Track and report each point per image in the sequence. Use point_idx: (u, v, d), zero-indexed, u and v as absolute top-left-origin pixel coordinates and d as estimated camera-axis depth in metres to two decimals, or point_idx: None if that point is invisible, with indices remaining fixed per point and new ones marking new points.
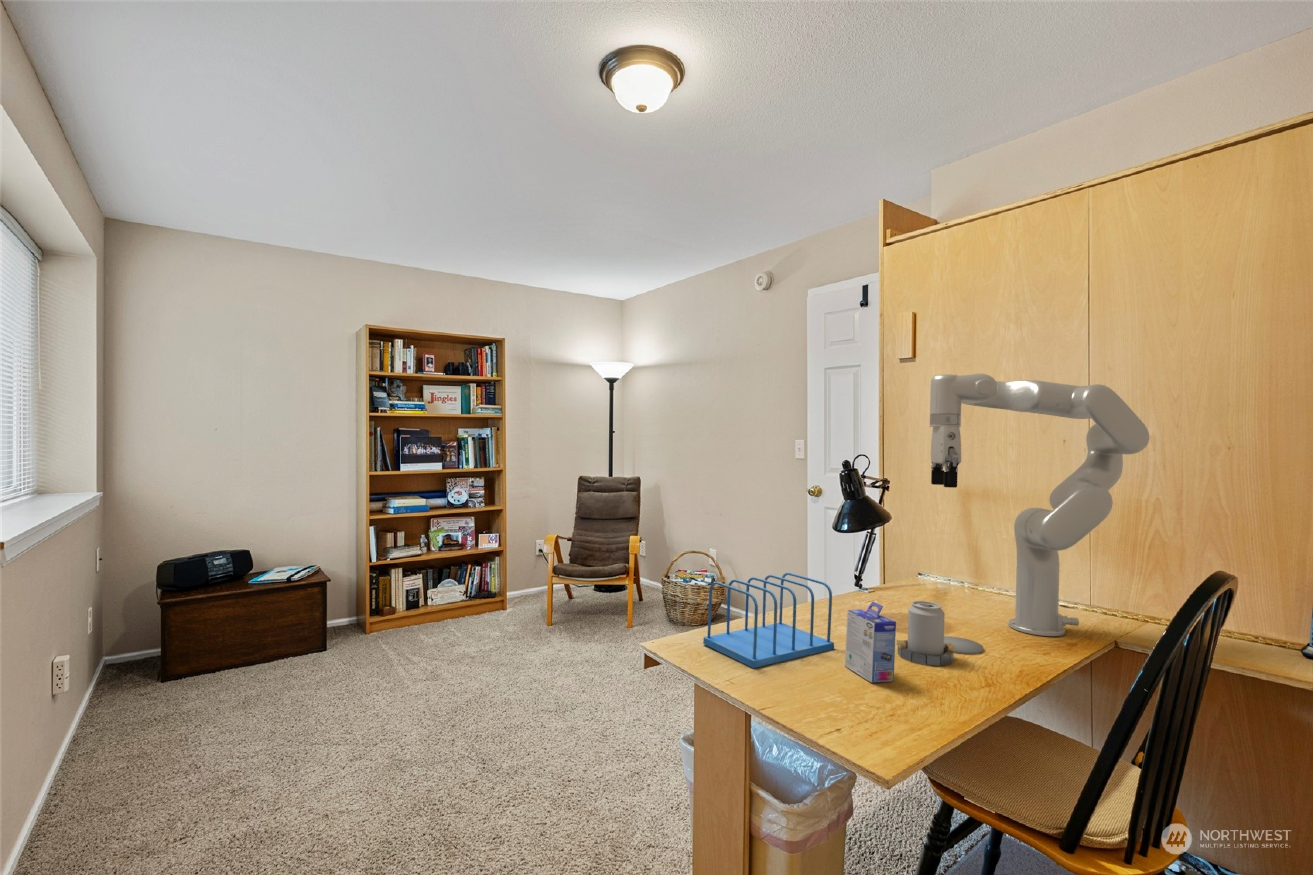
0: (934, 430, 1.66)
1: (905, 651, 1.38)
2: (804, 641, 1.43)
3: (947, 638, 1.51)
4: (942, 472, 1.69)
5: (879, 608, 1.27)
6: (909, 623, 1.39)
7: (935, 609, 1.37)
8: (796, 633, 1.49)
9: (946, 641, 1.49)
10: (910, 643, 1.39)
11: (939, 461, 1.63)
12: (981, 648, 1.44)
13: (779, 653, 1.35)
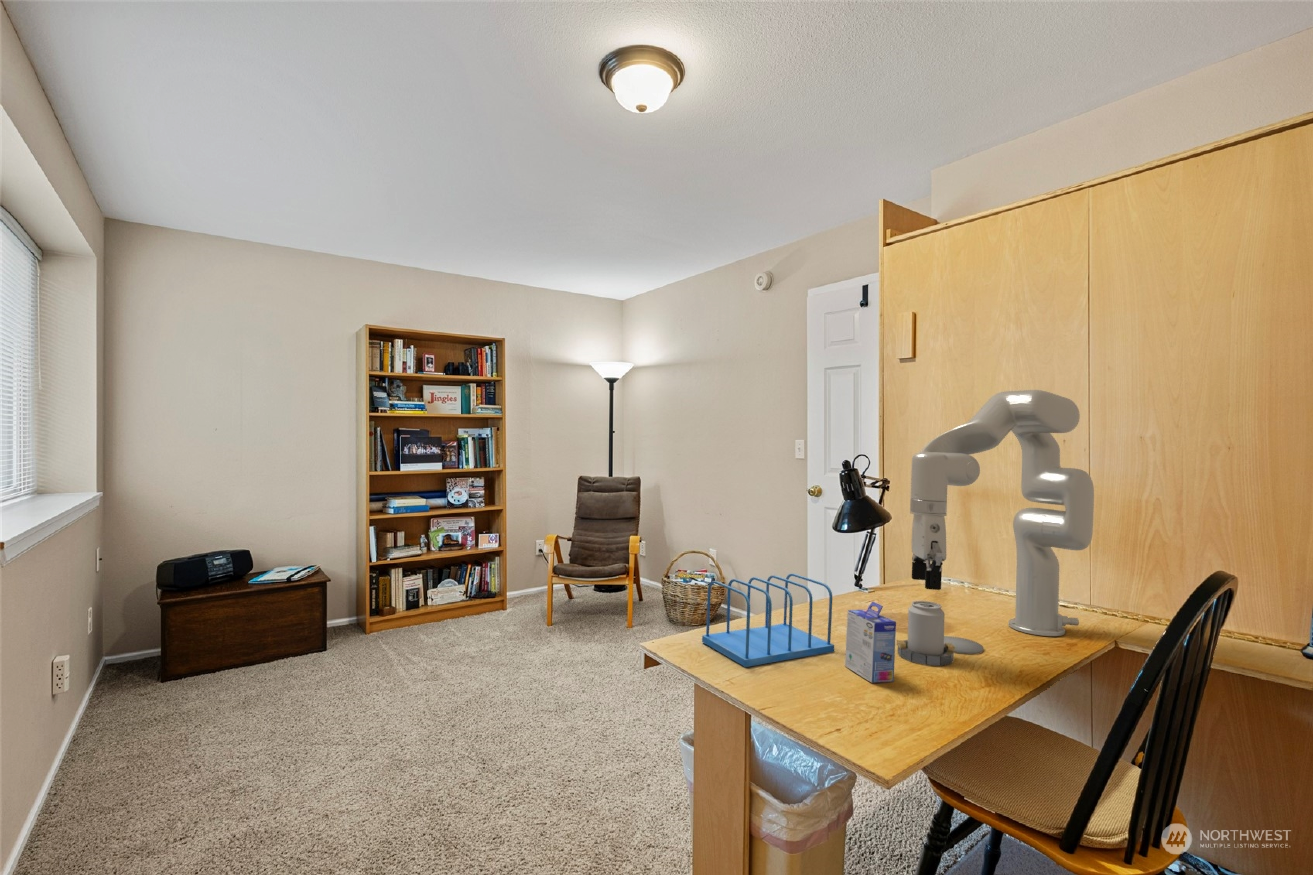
0: (915, 518, 1.40)
1: (905, 651, 1.38)
2: (803, 642, 1.42)
3: (947, 638, 1.51)
4: (924, 565, 1.44)
5: (879, 608, 1.27)
6: (909, 623, 1.39)
7: (935, 609, 1.37)
8: (798, 634, 1.48)
9: (946, 641, 1.49)
10: (910, 643, 1.39)
11: (920, 556, 1.37)
12: (981, 648, 1.44)
13: (774, 653, 1.34)
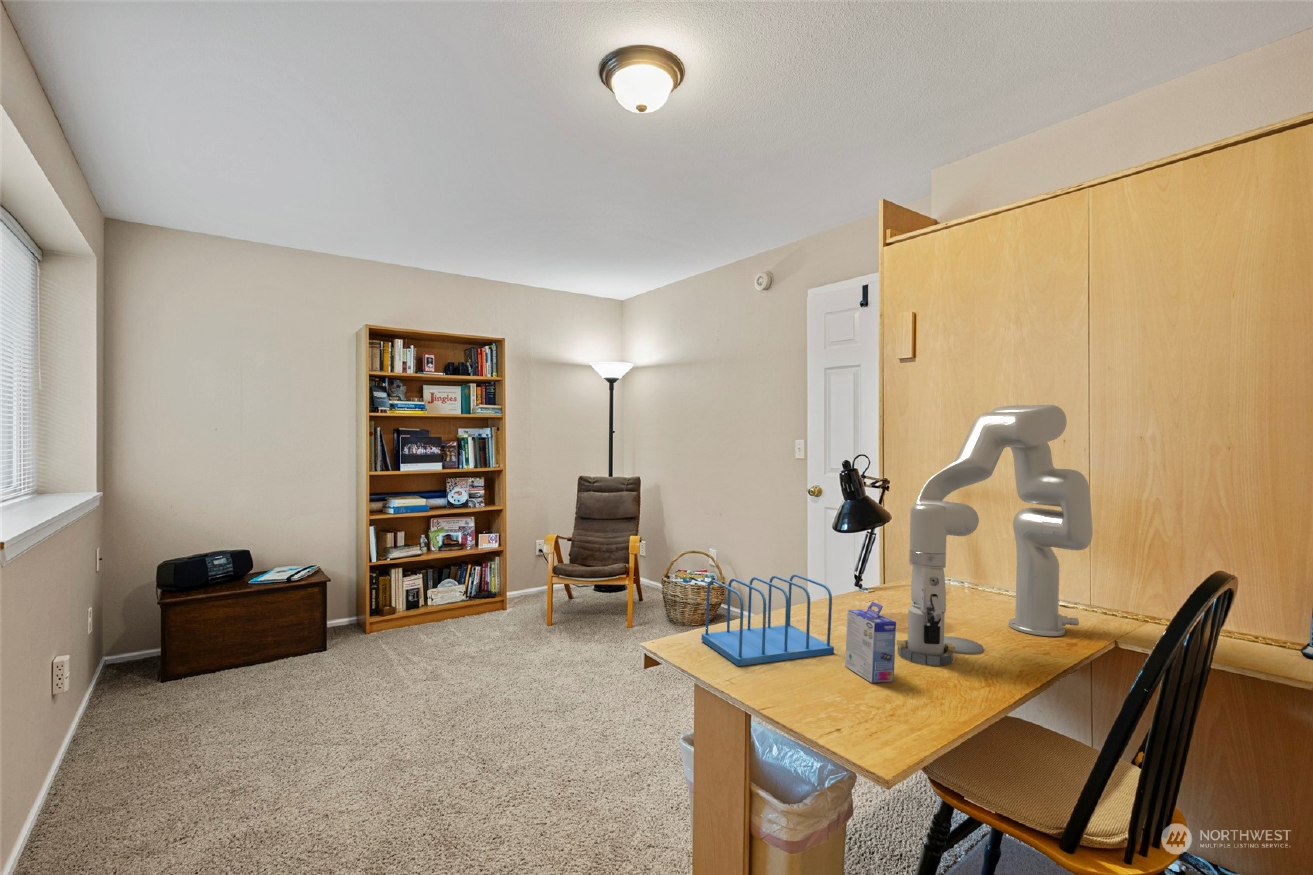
0: (914, 569, 1.40)
1: (905, 651, 1.38)
2: (802, 644, 1.41)
3: (947, 638, 1.51)
4: None
5: (879, 608, 1.27)
6: (909, 623, 1.39)
7: None
8: (799, 636, 1.47)
9: (946, 641, 1.49)
10: (910, 643, 1.39)
11: (920, 608, 1.37)
12: (981, 648, 1.44)
13: (769, 653, 1.34)
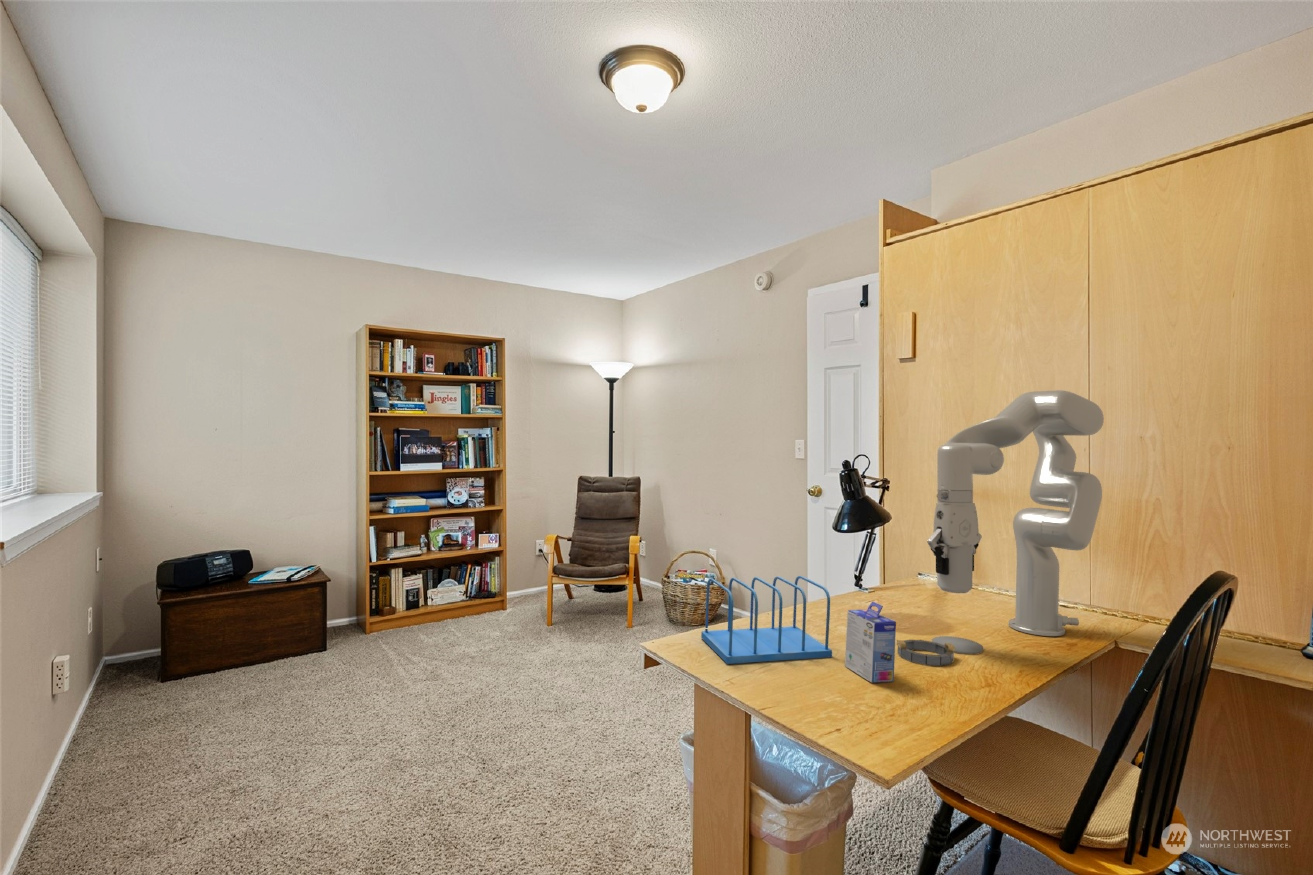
0: None
1: (905, 651, 1.38)
2: (800, 645, 1.40)
3: (947, 638, 1.51)
4: None
5: (879, 608, 1.27)
6: None
7: None
8: (800, 637, 1.46)
9: (946, 641, 1.49)
10: None
11: None
12: (981, 648, 1.44)
13: (761, 653, 1.34)
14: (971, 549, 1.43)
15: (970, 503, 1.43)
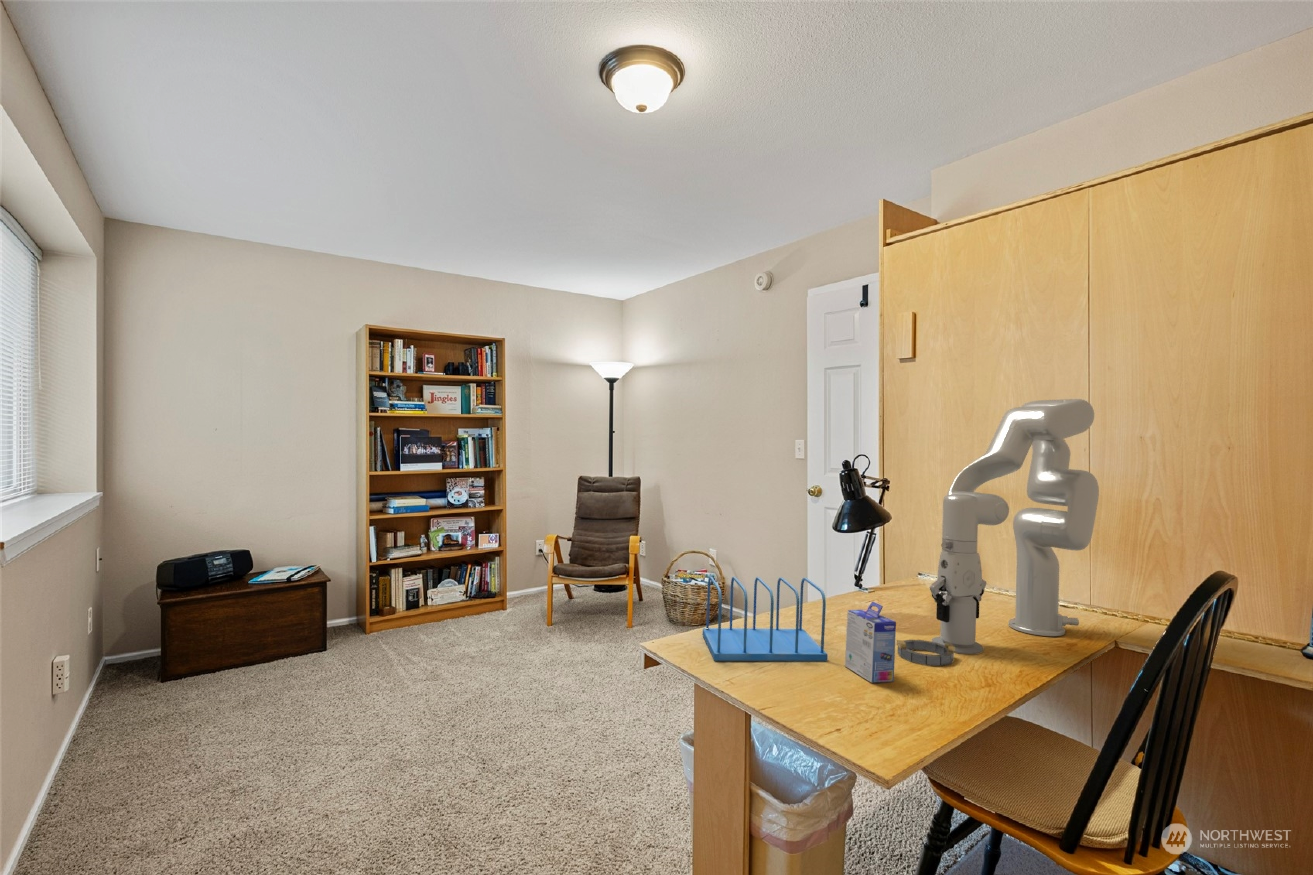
0: None
1: (905, 651, 1.38)
2: None
3: None
4: None
5: (879, 608, 1.27)
6: None
7: (954, 597, 1.45)
8: (801, 640, 1.44)
9: None
10: None
11: None
12: (981, 648, 1.44)
13: (751, 652, 1.35)
14: (975, 604, 1.45)
15: (974, 554, 1.44)
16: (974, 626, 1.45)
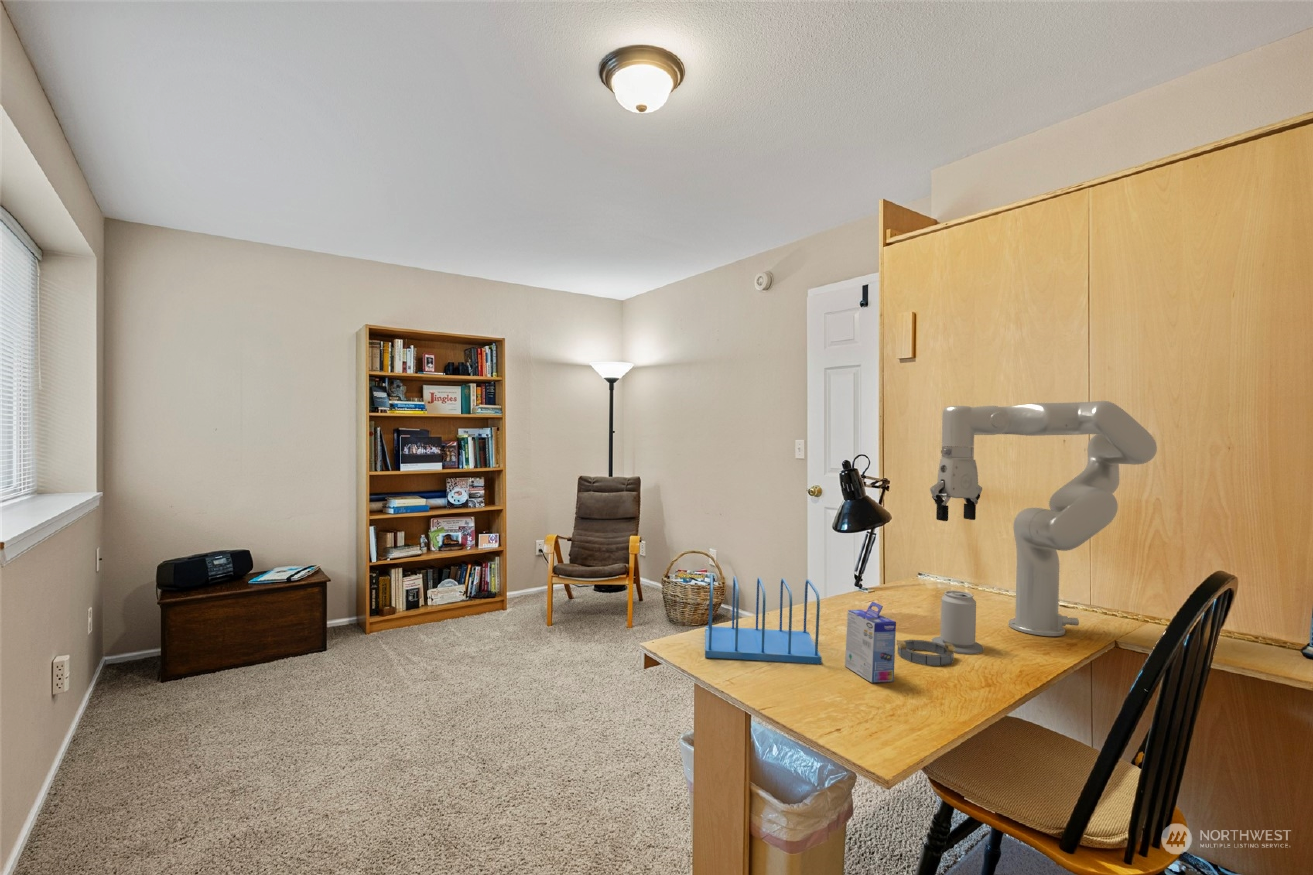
0: None
1: (905, 651, 1.38)
2: (791, 649, 1.38)
3: None
4: (972, 506, 1.62)
5: (879, 608, 1.27)
6: None
7: (953, 597, 1.45)
8: (800, 642, 1.42)
9: None
10: None
11: None
12: (981, 648, 1.44)
13: (742, 651, 1.35)
14: (975, 604, 1.45)
15: (971, 458, 1.58)
16: (974, 626, 1.45)
